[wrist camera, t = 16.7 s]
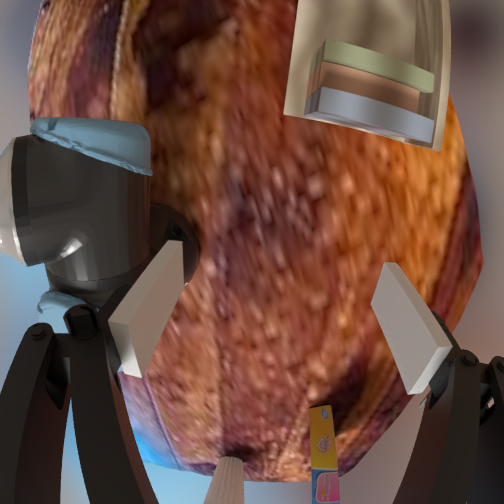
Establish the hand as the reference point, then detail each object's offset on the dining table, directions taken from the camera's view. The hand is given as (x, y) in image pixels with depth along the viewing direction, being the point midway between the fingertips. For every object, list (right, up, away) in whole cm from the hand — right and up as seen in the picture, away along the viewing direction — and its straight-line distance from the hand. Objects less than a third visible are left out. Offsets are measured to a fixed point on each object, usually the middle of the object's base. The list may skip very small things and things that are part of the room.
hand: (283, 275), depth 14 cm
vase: (-9, -70, +63) cm, 95 cm away
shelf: (+13, +31, +12) cm, 36 cm away
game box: (+17, -44, +48) cm, 67 cm away
